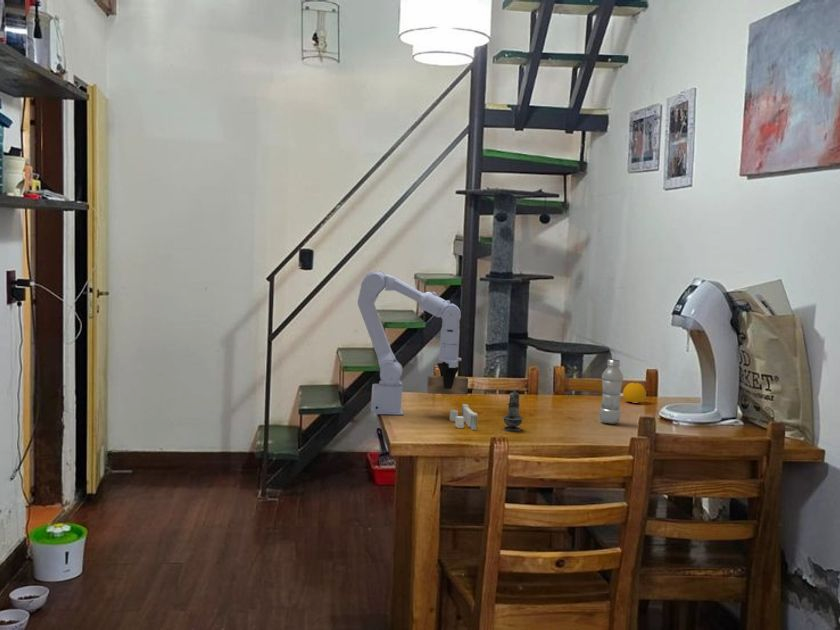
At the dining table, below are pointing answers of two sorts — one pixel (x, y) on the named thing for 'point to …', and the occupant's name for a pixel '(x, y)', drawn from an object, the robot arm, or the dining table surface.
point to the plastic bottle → (611, 393)
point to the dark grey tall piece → (513, 413)
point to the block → (437, 387)
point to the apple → (634, 392)
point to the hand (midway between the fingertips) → (446, 387)
